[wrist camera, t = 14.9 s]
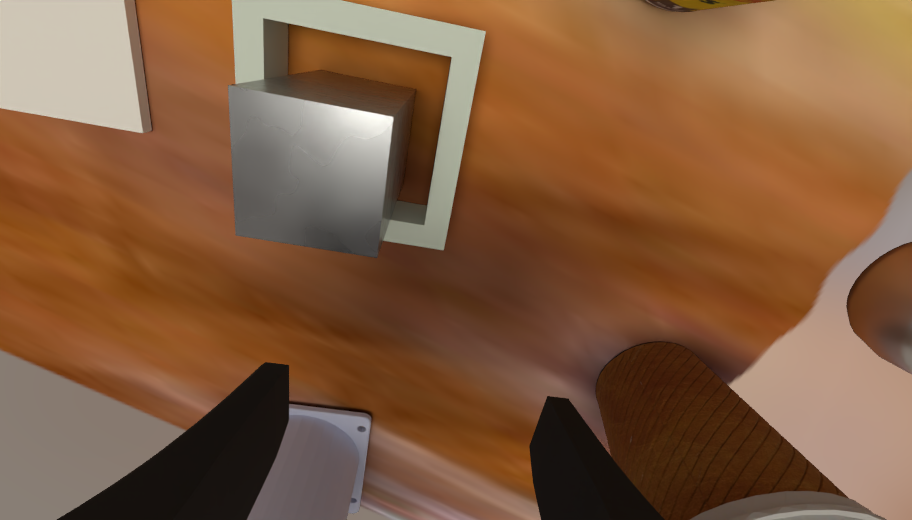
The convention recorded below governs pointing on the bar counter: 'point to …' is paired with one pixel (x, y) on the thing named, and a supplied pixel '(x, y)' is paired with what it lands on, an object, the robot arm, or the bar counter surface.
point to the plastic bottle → (885, 306)
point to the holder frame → (321, 7)
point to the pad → (74, 61)
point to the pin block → (318, 159)
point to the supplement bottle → (697, 4)
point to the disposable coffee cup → (706, 445)
